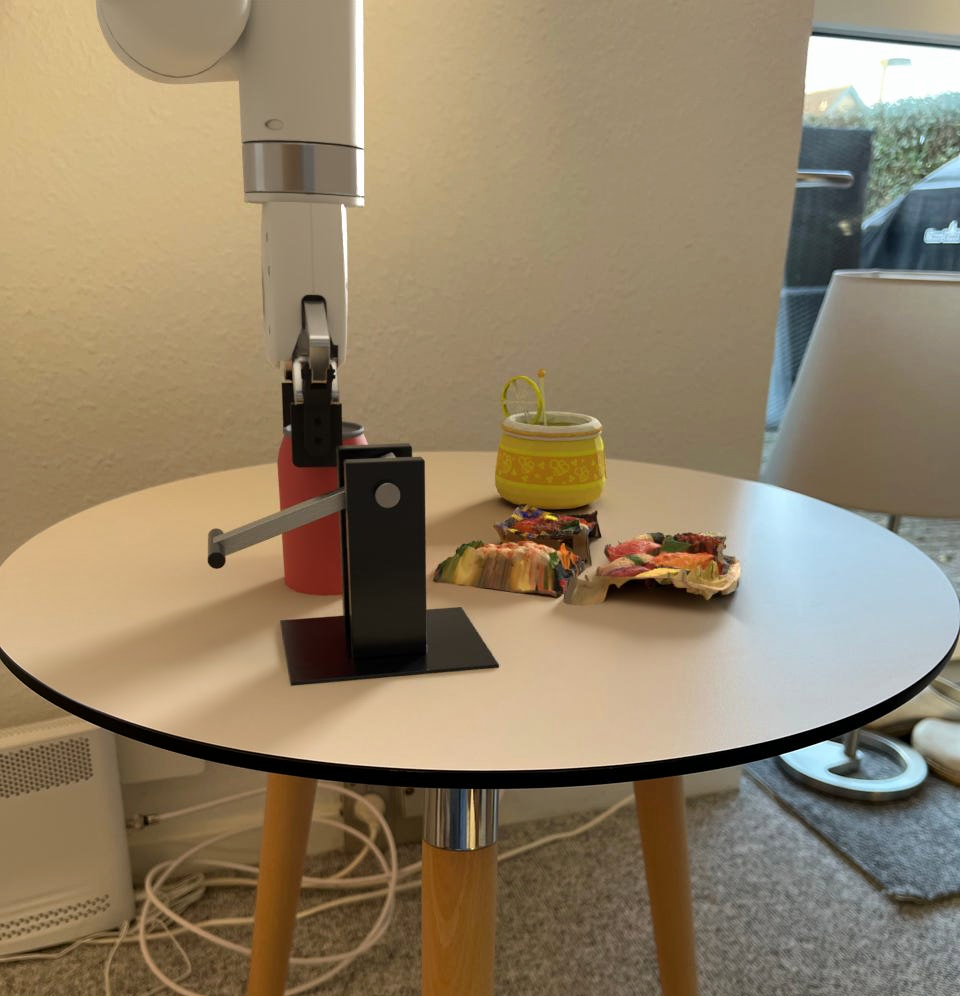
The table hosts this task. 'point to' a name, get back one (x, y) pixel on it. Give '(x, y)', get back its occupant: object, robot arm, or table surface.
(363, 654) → the bracket
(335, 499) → the lever
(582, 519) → the food
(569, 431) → the yellow flower pot
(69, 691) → the table surface
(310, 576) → the beer can
